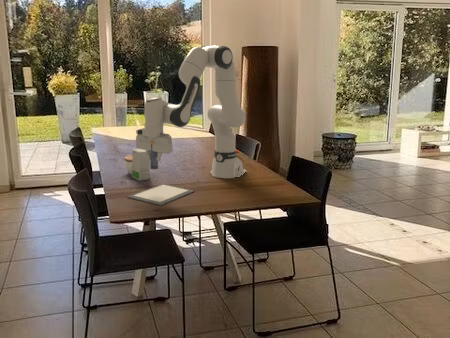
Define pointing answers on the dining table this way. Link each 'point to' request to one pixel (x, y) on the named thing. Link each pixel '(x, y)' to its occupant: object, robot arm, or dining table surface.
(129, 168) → the lidded bowl
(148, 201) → the mat
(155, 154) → the marker
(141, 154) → the skincare box
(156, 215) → the dining table surface
